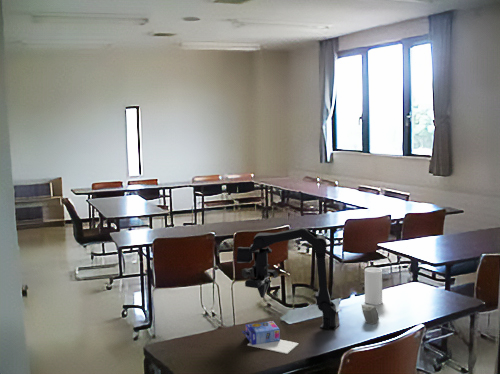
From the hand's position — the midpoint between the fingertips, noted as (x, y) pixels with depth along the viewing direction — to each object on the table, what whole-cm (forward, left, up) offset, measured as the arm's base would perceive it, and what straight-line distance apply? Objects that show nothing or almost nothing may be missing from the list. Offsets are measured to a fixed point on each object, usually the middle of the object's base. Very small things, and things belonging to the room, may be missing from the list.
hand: (262, 297), depth 231 cm
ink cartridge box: (+8, +11, -10) cm, 17 cm away
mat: (+15, +13, -13) cm, 24 cm away
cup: (-50, +33, -13) cm, 61 cm away
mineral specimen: (-24, +40, -13) cm, 49 cm away
